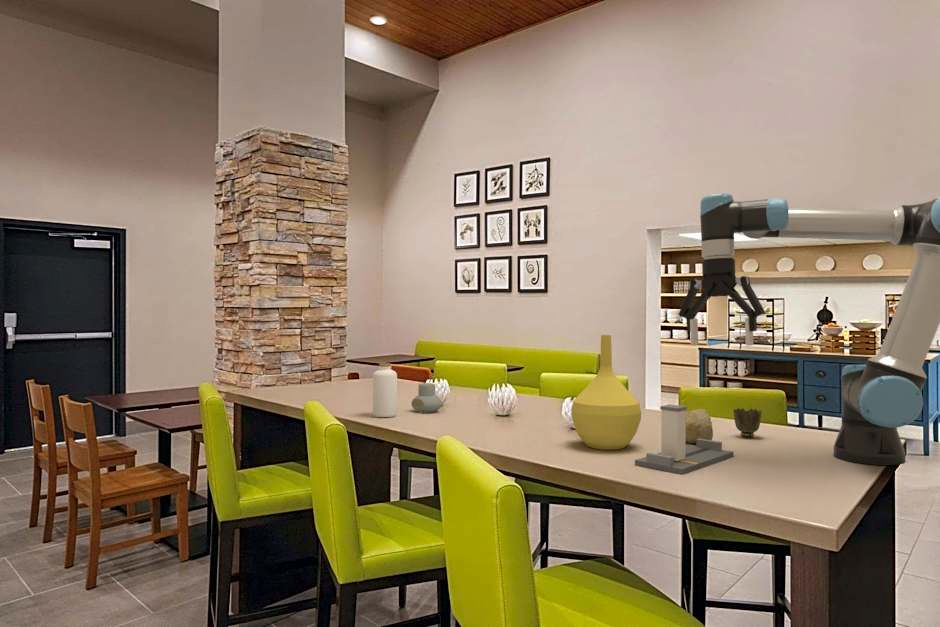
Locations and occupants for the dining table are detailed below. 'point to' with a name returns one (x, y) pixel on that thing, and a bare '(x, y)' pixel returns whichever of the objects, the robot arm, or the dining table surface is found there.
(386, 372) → the white bottle
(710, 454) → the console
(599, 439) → the vase
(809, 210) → the robot arm
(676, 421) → the fader tab
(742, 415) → the cup
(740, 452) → the dining table surface
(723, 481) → the dining table surface
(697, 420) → the coral
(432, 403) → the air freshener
